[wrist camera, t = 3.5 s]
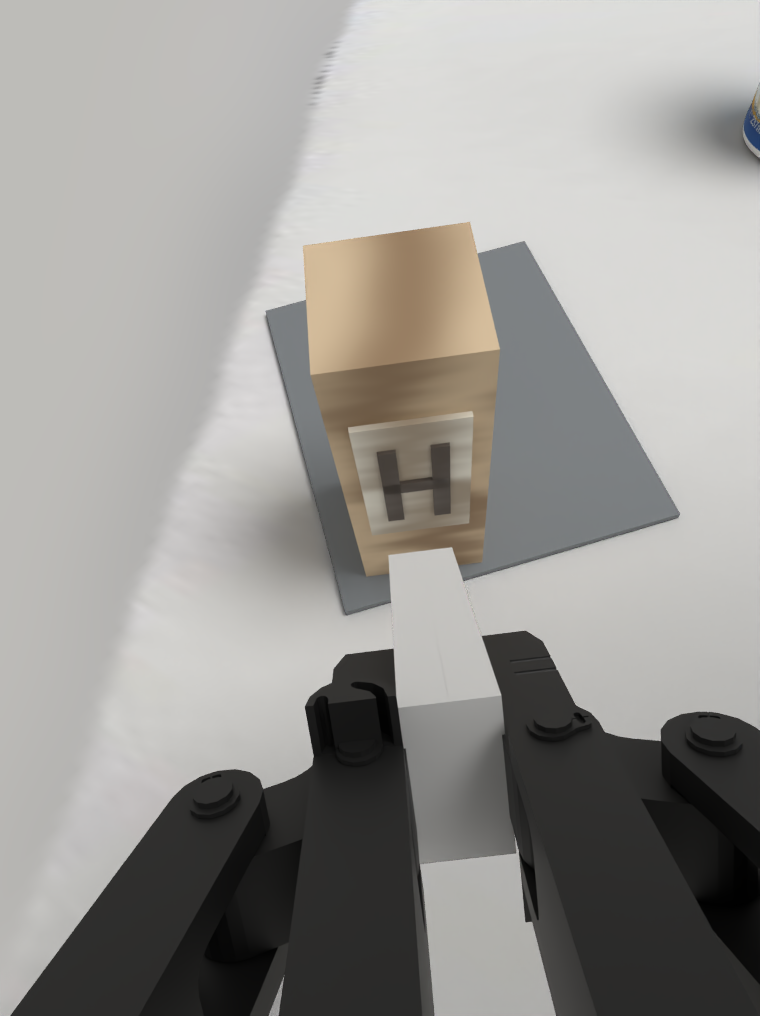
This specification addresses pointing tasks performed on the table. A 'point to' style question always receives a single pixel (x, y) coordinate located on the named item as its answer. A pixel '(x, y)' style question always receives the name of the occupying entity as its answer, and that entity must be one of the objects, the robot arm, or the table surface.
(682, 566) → the table surface
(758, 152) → the beverage bottle
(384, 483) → the letter block
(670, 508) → the mat
